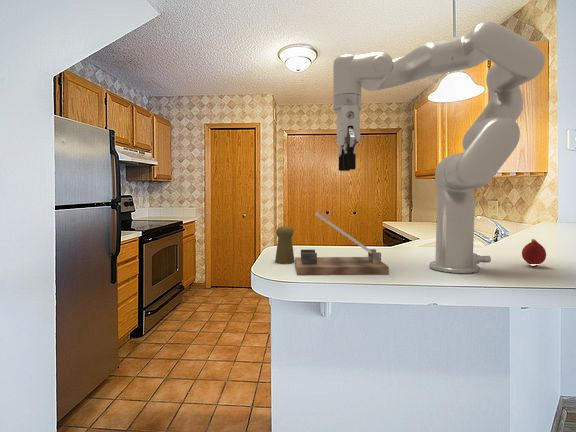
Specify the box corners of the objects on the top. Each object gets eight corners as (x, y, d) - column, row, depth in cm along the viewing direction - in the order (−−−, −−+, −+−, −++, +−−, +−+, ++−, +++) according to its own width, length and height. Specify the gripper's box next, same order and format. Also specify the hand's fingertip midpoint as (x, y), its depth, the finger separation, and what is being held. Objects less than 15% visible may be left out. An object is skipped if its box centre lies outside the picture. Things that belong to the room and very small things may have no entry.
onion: (545, 266, 106) (546, 238, 105) (546, 269, 101) (547, 241, 100) (521, 263, 109) (522, 237, 108) (521, 267, 104) (522, 239, 104)
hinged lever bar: (373, 255, 105) (377, 250, 104) (376, 258, 101) (380, 252, 101) (314, 214, 103) (318, 209, 103) (315, 215, 100) (319, 210, 100)
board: (374, 263, 110) (375, 246, 110) (388, 274, 96) (389, 255, 96) (295, 264, 110) (295, 247, 109) (297, 275, 96) (297, 256, 95)
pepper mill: (292, 264, 109) (292, 227, 108) (272, 263, 110) (272, 227, 109) (296, 260, 115) (296, 225, 114) (277, 259, 116) (277, 225, 115)
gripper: (368, 96, 91) (367, 168, 92) (354, 110, 108) (354, 171, 110) (338, 96, 91) (338, 168, 92) (329, 110, 108) (328, 171, 109)
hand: (346, 169), depth 101 cm, fingers open, 6 cm apart
